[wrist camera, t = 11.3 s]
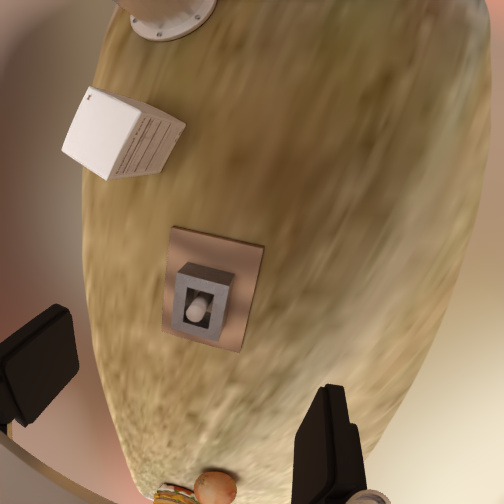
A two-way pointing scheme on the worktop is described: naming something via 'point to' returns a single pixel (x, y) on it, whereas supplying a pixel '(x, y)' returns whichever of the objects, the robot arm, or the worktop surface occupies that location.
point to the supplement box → (120, 135)
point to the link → (204, 281)
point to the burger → (174, 495)
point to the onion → (215, 488)
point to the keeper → (218, 257)
